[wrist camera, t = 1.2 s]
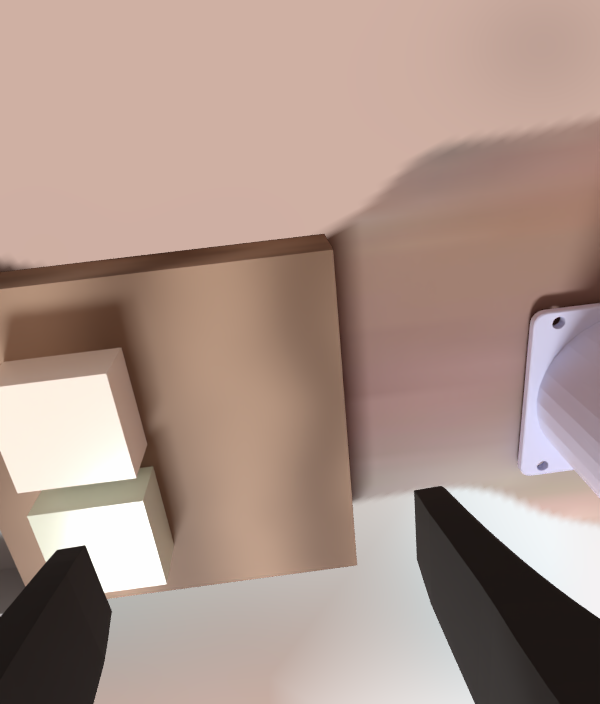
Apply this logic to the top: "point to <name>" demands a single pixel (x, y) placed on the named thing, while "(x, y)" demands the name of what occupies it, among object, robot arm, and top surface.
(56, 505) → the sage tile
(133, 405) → the cream tile
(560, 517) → the top surface
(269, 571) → the plate
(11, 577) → the tray
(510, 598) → the robot arm
